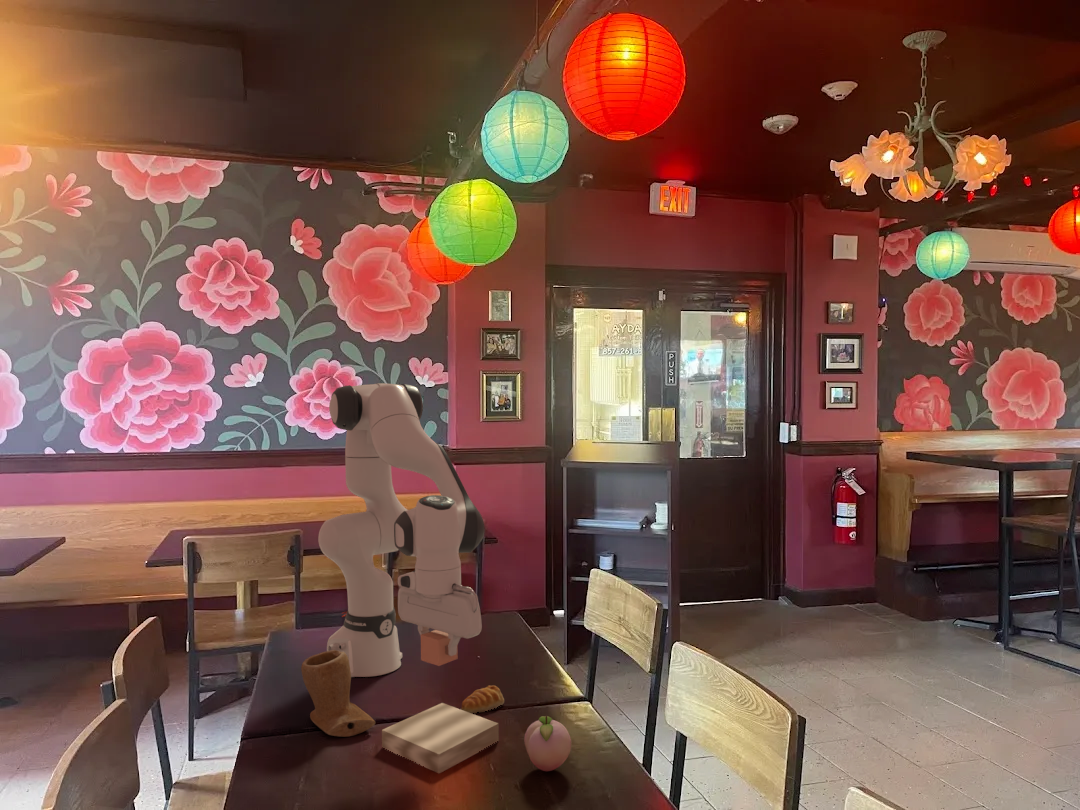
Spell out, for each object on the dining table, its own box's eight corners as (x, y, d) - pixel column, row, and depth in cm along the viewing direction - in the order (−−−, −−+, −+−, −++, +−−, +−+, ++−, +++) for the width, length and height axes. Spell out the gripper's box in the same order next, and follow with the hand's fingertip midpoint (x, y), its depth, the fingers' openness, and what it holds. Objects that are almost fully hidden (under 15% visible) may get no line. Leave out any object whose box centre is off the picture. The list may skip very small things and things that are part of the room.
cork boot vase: (295, 721, 162) (293, 650, 161) (350, 707, 168) (348, 639, 168) (318, 748, 149) (317, 672, 149) (376, 732, 156) (375, 659, 155)
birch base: (382, 750, 149) (381, 729, 149) (442, 721, 162) (442, 702, 161) (439, 776, 139) (438, 754, 139) (498, 743, 151) (498, 723, 151)
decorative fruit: (577, 780, 136) (576, 724, 136) (531, 786, 134) (531, 729, 134) (564, 755, 145) (563, 703, 145) (521, 760, 143) (521, 707, 143)
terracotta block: (421, 660, 149) (420, 634, 149) (440, 653, 153) (439, 628, 153) (438, 666, 146) (438, 640, 146) (457, 658, 150) (457, 633, 150)
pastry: (474, 719, 162) (473, 701, 162) (454, 710, 167) (453, 692, 167) (506, 705, 169) (506, 688, 169) (486, 697, 173) (486, 680, 173)
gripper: (488, 585, 145) (489, 658, 146) (415, 570, 158) (417, 636, 159) (464, 592, 140) (465, 667, 141) (391, 576, 153) (393, 644, 154)
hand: (439, 651), depth 150 cm, fingers closed on terracotta block, 5 cm apart
